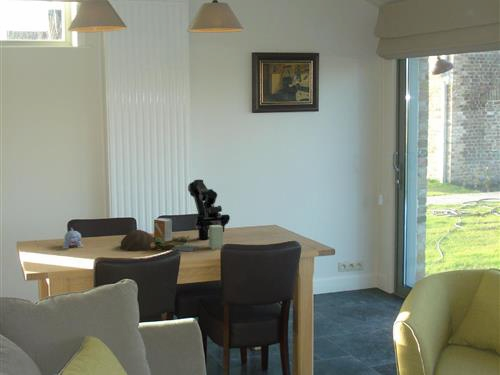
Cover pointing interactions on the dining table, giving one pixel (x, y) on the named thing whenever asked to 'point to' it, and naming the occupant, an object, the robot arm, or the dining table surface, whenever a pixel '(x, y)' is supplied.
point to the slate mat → (185, 248)
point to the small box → (163, 228)
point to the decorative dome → (137, 241)
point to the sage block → (215, 236)
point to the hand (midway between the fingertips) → (215, 232)
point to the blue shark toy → (72, 239)
